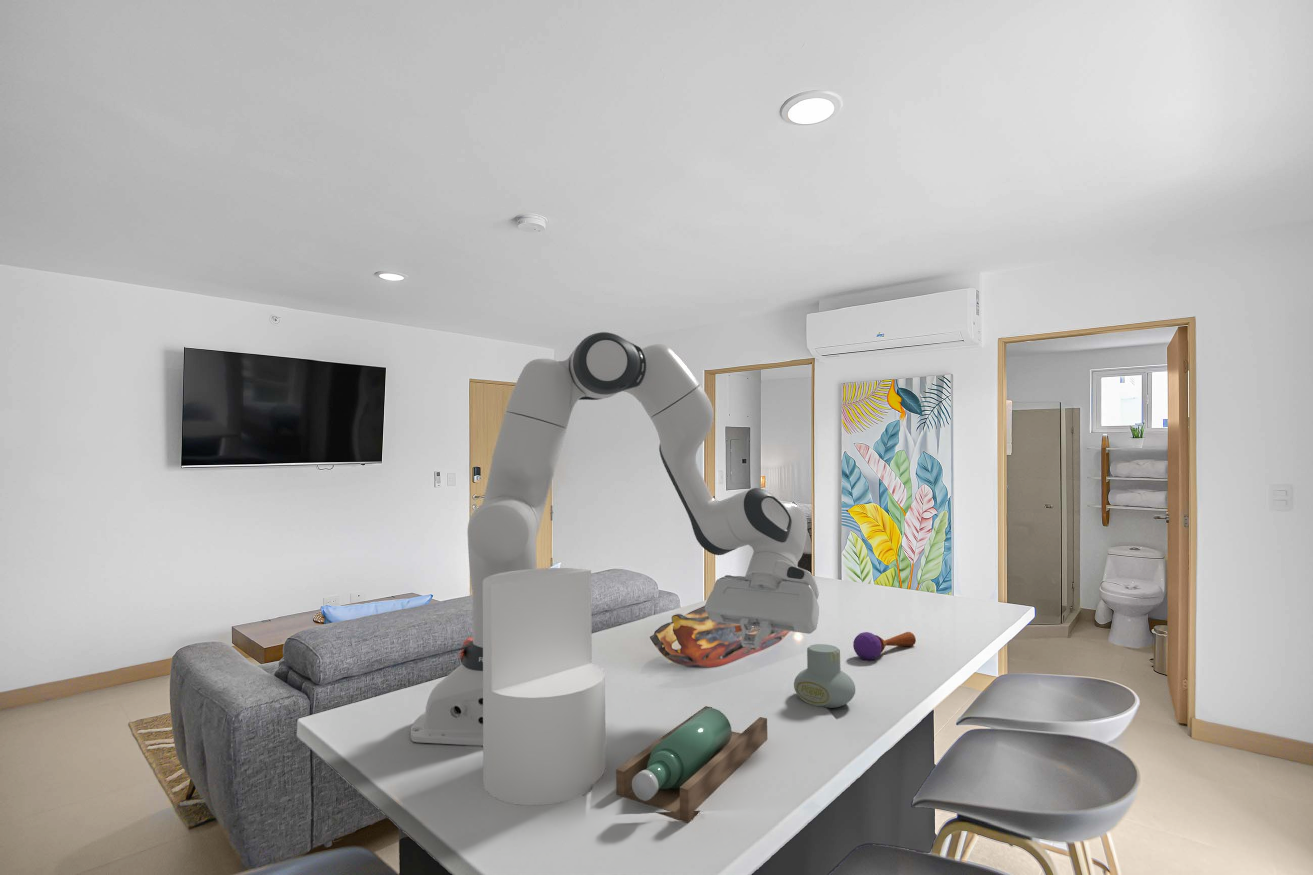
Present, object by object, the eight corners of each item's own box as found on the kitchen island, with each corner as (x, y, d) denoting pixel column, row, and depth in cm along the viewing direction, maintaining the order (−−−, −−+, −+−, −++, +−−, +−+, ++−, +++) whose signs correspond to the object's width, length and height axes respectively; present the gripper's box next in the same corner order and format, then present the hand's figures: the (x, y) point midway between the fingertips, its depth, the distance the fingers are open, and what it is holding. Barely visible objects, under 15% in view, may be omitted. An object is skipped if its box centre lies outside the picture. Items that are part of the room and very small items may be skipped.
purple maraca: (923, 631, 155) (873, 639, 143) (918, 655, 156) (868, 665, 143) (900, 622, 160) (850, 629, 148) (896, 645, 160) (845, 654, 148)
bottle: (712, 756, 100) (641, 821, 82) (688, 721, 102) (614, 777, 84) (739, 735, 98) (672, 797, 80) (714, 700, 100) (643, 753, 82)
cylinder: (460, 774, 94) (460, 578, 95) (559, 738, 106) (557, 564, 108) (528, 820, 82) (527, 594, 83) (630, 773, 94) (628, 576, 95)
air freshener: (786, 701, 121) (785, 647, 122) (810, 690, 127) (809, 638, 128) (840, 717, 114) (838, 658, 114) (863, 704, 120) (861, 648, 120)
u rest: (706, 730, 109) (705, 706, 109) (767, 744, 103) (767, 718, 103) (616, 800, 86) (616, 769, 87) (688, 822, 81) (688, 789, 81)
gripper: (713, 564, 124) (689, 628, 115) (819, 573, 114) (802, 643, 105) (723, 584, 128) (701, 647, 119) (827, 594, 117) (811, 664, 108)
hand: (749, 646), depth 112 cm, fingers closed
